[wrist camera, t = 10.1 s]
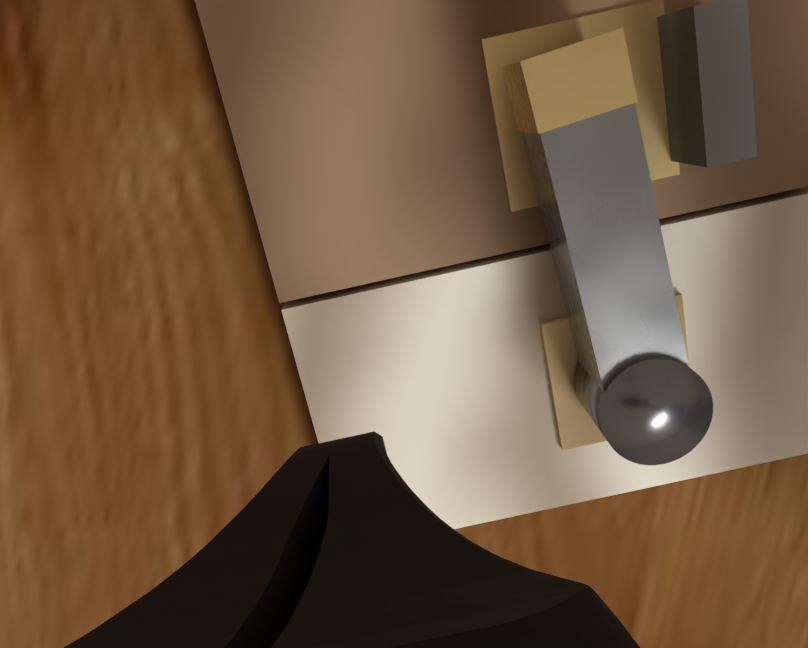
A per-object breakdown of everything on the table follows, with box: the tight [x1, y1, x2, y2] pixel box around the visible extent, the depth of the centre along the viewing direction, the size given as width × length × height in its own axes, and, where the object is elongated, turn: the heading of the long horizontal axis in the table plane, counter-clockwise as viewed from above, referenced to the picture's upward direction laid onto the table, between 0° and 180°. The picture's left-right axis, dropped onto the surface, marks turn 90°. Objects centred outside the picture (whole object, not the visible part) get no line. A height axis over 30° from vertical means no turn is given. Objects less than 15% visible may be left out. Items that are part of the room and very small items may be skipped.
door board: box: [195, 0, 808, 529], centre depth 19 cm, size 15×17×3 cm
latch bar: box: [502, 28, 713, 465], centre depth 18 cm, size 10×3×3 cm, turn 17°
